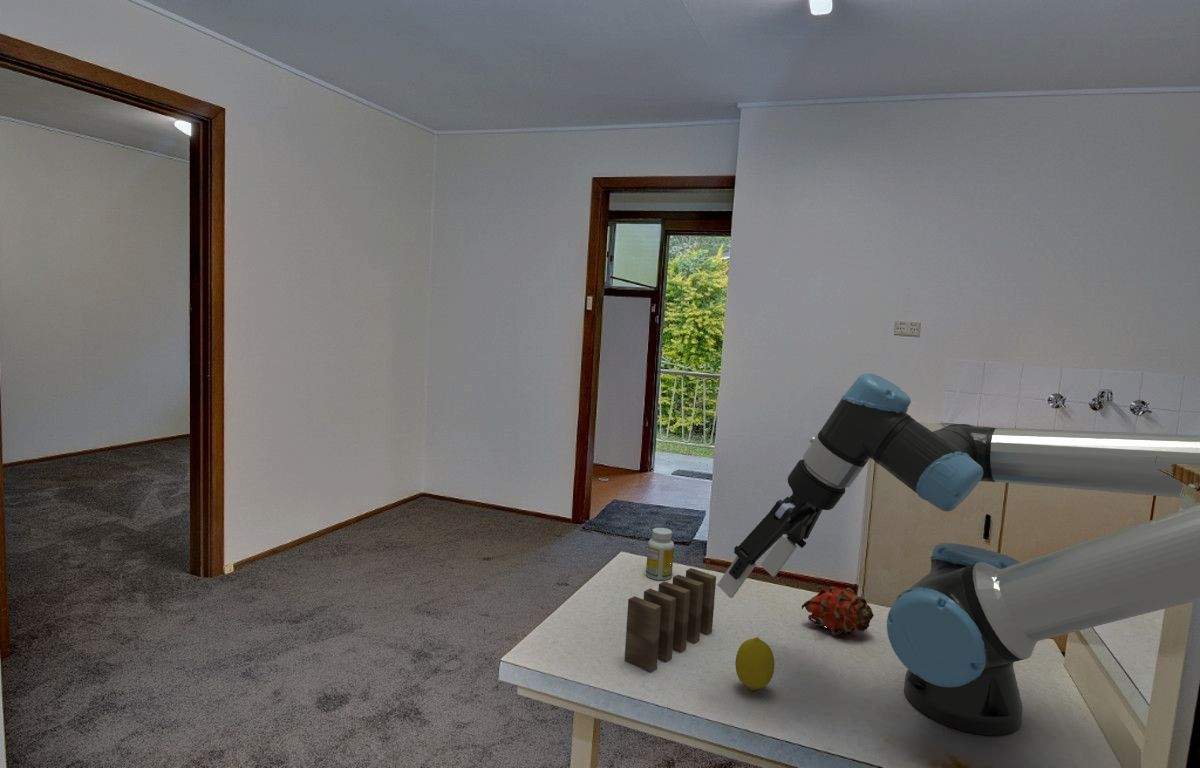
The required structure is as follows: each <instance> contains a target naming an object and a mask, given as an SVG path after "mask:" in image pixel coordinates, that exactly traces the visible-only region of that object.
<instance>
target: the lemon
mask: <svg viewBox="0 0 1200 768" xmlns="http://www.w3.org/2000/svg"><path fill="white" fill-rule="evenodd" d="M736 652H737V653H736V655H735V656H736V657H735V672H736V676H737V678H738V680H739V681H740V682H741V683H742V685H744V686H746V687H747V688H749V690H750V691H752V692H753V691H755V690H758V689H759V690H760V689H762V688H764V687H766V686H768V685H769V683H770V682H771V680H772V678H773V676H774V672H775V657H774V653H773V650H772V648H771V647H770V645H769V644H768V643H766V642H765V641H764V640H762V639H761V638H760V637H757V636H756V637H753V638H749V639H747V640H745V641H744V642H743V643H741V644H740V646H739V648H738V650H737V651H736Z"/></svg>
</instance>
